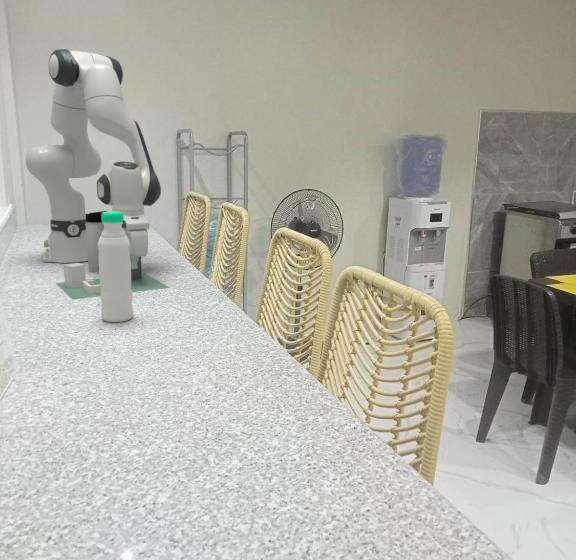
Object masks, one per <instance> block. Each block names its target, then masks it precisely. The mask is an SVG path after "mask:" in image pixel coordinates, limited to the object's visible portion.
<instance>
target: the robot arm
mask: <svg viewBox="0 0 576 560" xmlns="http://www.w3.org/2000/svg"><path fill="white" fill-rule="evenodd" d="M48 73H49V77H50V78H51V79H52V81H53V82H54V83H55V85H54V89H53V95H52V96H53V97H52V106H51V116H50V124H51V127H52V128H53V129H54V131H55V132H57V133H58V134H60V135H61V136H62V137H63V144H62V145H61V144H43V145H38V146H34V147H31V148H30V149H28V151H27V153H26V155H25V166H26V168H27V170H28V172H29V174H31V175H32V176H33V177H34V178H35V179H36V180H38V181H39V182H40V183H41V184H42V185H43V187H44V189H45V190H46V193H47V196H48V200H49V206H50V214H51V219H50V224H49V226H50V230H51V231H50V233H49V235H48V237H47V239H45V240H44V241H43V248H46V249H45V251H43V253H42V262H46V263H59V264H63V263H64V264H72V263H80V262H88V249H87V233H86V214H87V213H86V204H85V203H86V202H85V199H86V198H85V197H84V195H83V194H82V192H80V191H79V190H76V189H74V188H73V186H72V185H71V182H70V179H81V178H84V179H85V178H88V177H92V176H95V175H97V174H98V173H99V172H100V170H101V167H102V158H101V155H100V153H99V152H98V150H97V149H96V148H95V147H93V145H92V143H91V142H90V138H89V134H88V122H89V123H90V124H91V125H92V127H93V128H95V129H96V130H98V131H99V132H100V133H103V134H105V135H107V136H110V137H113V138H115V139H117V140H119V141H121V142H123V143H124V144H126V146H127V148H129V149H130V152H131V157H132V159H133V162H132V161H131V162H130V161H116V162H114V163H112V164H111V169H110V171H108V172H106V173H103V174H102V175H100V177H99V178H98V179H97V181H96V194H97V195H96V196H97V199H98V200H99V201H101V202H102V203H103V204H104V205H107V206H112V207H111V208H112V209H111V211H119V212H122V213H123V216H124V220H123V224H122V229H123V230H124V232H125V234H126V236H127V238H128V240H129V242H130V248H129V252H130V257H131V269H137V268H138V265H137V263H138V259H139V257H141V258H142V257H146V256H147V255H148V251H149V232H148V230H149V229H150V222H149V220H148V219H147V217H146V215H145V207H144V206H146V207H147V206H149V207H152V205H154V204H155V203H156V202H157V201H158V200H159V199H160V197H161V194H162V187H161V184H160V180H159V178H158V175H157V174H156V172H155V169H154V167H153V163H152V160H151V157H150V153H149V150H148V147H147V144H146V141H145V138H144V135H143V132H142V130H141V128H140V125H139V123H138V121H136V120H135V119H133V118H132V117H131V115H130V114H129V112H128V110H127V108H126V107H125V101H124V95H123V91H122V87H121V86H122V84H123V83H122V82H123V79H124V78H123V77H124V74H123V67H122V64H121V63H120V61H118V60H117V59H115V58H113V57H111V56H108V55H102V54H99V53H95V52H91V51H80V50H69V49H67V48H60V49H55V50H54V51H52V53H51V54H50V56H49V59H48Z"/></svg>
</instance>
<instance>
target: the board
mask: <svg viewBox="0 0 576 560" xmlns="http://www.w3.org/2000/svg"><path fill="white" fill-rule="evenodd" d="M55 284H56V286H58V287H59V288H60V289H61V290H62V291H63V292H64V293H65V294H66V295H67V296H68V297H70V298H71V300H81V299H88V298H96V297H101V285H100V278H93V279H86V281H82V287H78V288H70V287H67V286H65V281H64V282H63V281H62V282H56V283H55ZM168 288H169V289H170V288H171V287H170V286H168V285H166V284H165V283H163V282H161V281H159V280H157V279H156V278H154V277H152V276H150V275H149V274H147V273H142V280H133V281H131V290H132V293H137V292H145V291H152V290H153V291H154V290H161V289H168Z"/></svg>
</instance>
